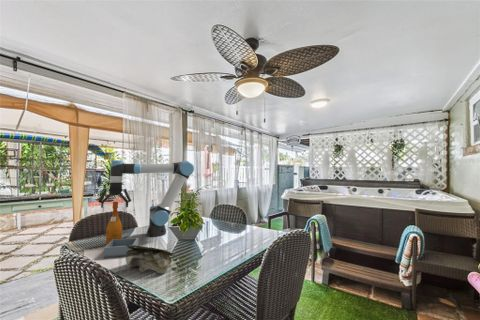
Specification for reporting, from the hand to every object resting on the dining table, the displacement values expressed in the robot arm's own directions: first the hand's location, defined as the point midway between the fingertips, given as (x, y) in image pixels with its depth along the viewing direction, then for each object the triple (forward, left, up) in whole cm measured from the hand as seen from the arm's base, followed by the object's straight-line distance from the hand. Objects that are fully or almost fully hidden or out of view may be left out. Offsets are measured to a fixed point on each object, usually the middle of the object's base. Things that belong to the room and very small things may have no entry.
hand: (114, 212), depth 150 cm
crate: (-9, +16, -23) cm, 29 cm away
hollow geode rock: (-28, +43, -23) cm, 57 cm away
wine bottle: (0, 0, -23) cm, 23 cm away
